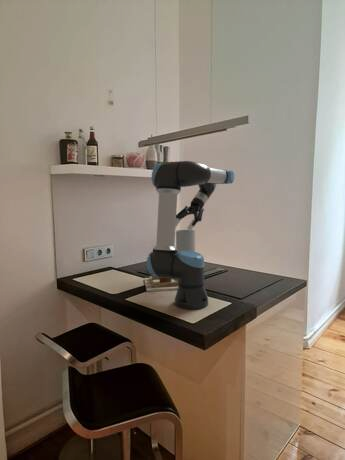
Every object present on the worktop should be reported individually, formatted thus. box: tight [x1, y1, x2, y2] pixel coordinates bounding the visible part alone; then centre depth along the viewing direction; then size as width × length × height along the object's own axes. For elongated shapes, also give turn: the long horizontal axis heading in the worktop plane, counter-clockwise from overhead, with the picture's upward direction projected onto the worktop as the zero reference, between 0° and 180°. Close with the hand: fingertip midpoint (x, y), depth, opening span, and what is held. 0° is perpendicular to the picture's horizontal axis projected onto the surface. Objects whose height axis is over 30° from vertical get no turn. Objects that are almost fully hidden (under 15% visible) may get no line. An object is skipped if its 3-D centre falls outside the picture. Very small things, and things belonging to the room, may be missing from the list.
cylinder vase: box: [175, 229, 196, 254], centre depth 205 cm, size 12×12×25 cm
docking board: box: [143, 275, 178, 293], centre depth 170 cm, size 22×22×3 cm
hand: (180, 228), depth 175 cm, fingers open, 13 cm apart
